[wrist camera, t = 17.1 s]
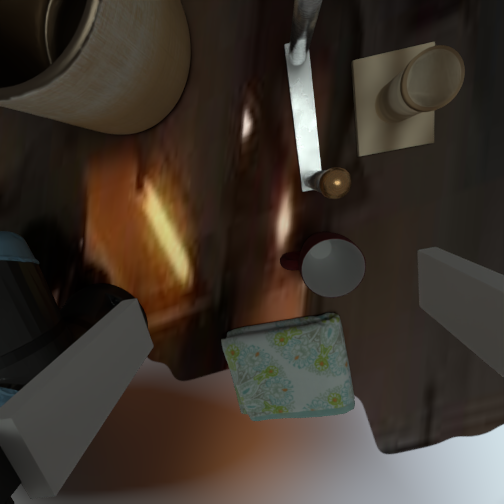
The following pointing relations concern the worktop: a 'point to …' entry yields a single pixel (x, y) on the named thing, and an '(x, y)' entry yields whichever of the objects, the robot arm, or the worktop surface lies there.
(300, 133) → the grey piece
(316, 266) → the mug
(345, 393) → the towel
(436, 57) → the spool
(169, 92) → the planter
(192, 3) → the worktop surface
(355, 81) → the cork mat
